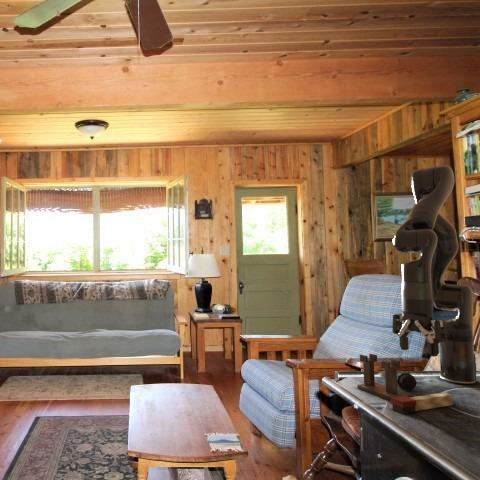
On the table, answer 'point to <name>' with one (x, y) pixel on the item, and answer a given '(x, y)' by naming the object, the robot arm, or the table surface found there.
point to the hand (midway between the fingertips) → (418, 352)
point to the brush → (421, 402)
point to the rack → (390, 378)
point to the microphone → (405, 381)
